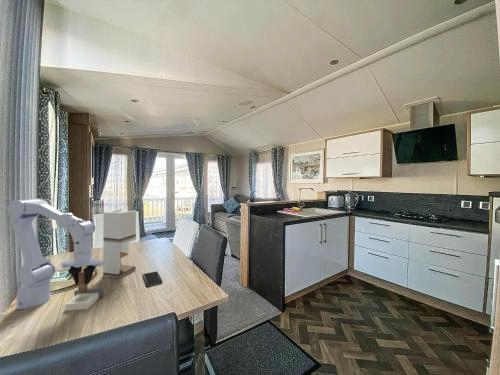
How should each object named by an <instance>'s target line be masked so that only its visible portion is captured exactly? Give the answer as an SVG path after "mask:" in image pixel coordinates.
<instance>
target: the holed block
mask: <svg viewBox="0 0 500 375" xmlns="http://www.w3.org/2000/svg"><path fill="white" fill-rule="evenodd" d="M98 299H100V298H99V293H80V294H77V295H76V296H75V297H74V296H73V297H72V298H71V299H70V300H68V301H67V302H66V303H65V304H64V306H65V307H64V309H65V310H64V311H78V310H79V311H81V310H82V311H83V310H89V309H90V308H91V306H92V305H94V304H95V303H96V302H97V300H98Z"/></svg>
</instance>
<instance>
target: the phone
mask: <svg viewBox="0 0 500 375" xmlns="http://www.w3.org/2000/svg"><path fill="white" fill-rule="evenodd" d="M142 279H143V282H144V285H145V287H146V288H149V287H153V286H158V285H162V284H163V279H162V277H161V275H160V274H159V272H158V271H152V272H148V273H142Z"/></svg>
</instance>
